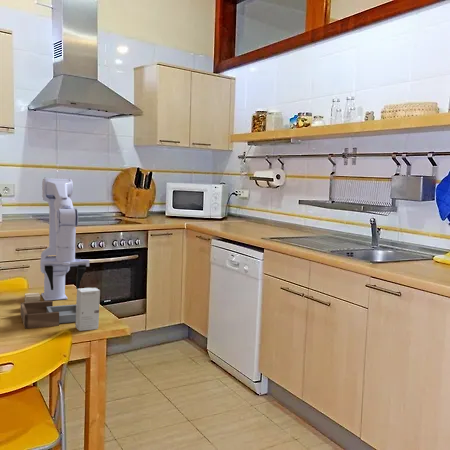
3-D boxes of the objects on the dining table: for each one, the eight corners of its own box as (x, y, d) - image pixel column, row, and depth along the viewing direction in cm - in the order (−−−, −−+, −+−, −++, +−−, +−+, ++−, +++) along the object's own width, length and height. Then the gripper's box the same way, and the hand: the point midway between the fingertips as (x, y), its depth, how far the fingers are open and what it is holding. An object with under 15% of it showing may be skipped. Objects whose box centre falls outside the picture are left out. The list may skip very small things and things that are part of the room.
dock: (20, 314, 157) (20, 302, 156) (51, 312, 161) (52, 300, 161) (25, 328, 144) (25, 315, 144) (58, 325, 149) (59, 312, 149)
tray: (45, 312, 160) (46, 299, 159) (88, 309, 167) (89, 296, 166) (51, 325, 149) (52, 311, 148) (97, 320, 155) (98, 307, 155)
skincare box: (79, 331, 145) (80, 292, 143) (74, 327, 148) (75, 288, 147) (99, 328, 148) (100, 290, 147) (94, 324, 152) (95, 286, 150)
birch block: (24, 308, 165) (24, 293, 164) (38, 307, 167) (38, 292, 166) (26, 311, 161) (26, 296, 160) (40, 310, 163) (40, 296, 162)
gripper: (41, 248, 146) (40, 292, 148) (90, 248, 151) (89, 291, 153) (41, 244, 153) (40, 286, 155) (88, 244, 158) (87, 285, 160)
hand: (64, 288), depth 154 cm, fingers open, 7 cm apart
